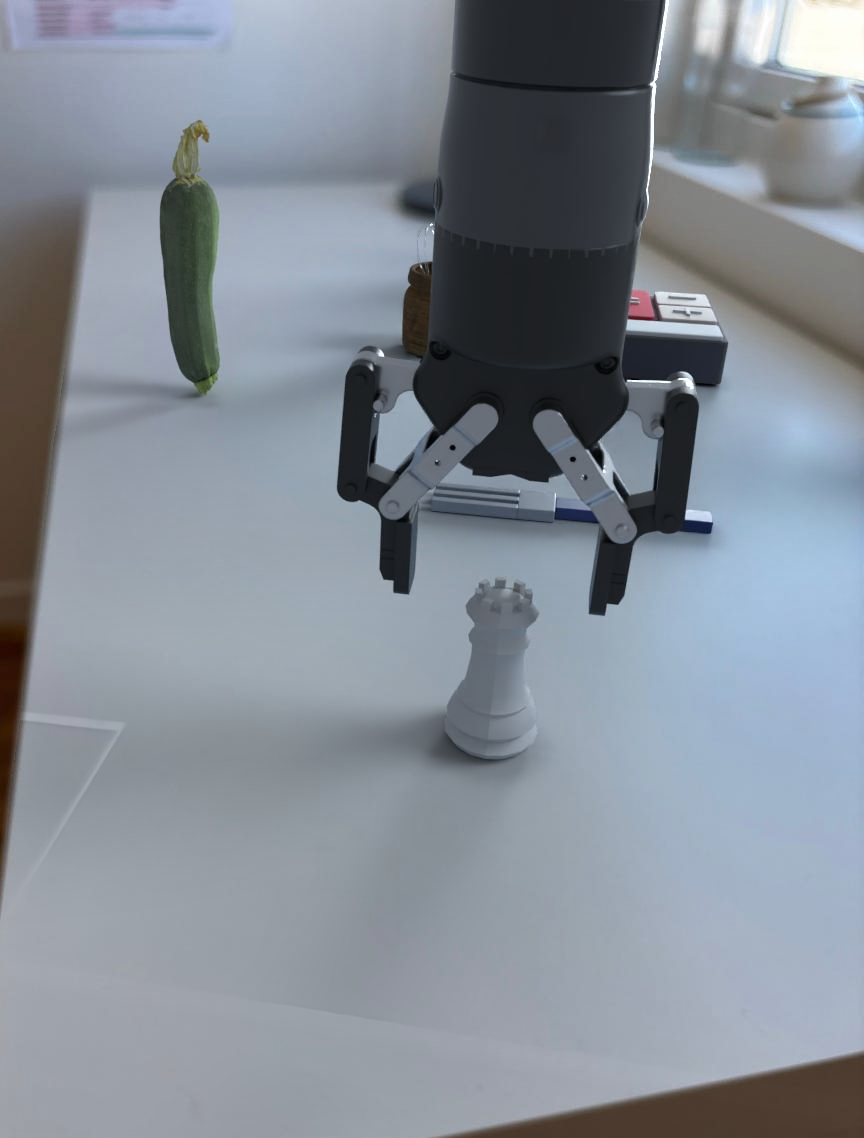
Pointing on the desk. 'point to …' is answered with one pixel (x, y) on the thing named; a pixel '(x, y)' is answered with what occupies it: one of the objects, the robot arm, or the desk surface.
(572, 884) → the desk surface
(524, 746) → the rook chess piece
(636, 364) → the calculator
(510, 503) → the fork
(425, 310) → the utensil holder
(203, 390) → the vegetable
